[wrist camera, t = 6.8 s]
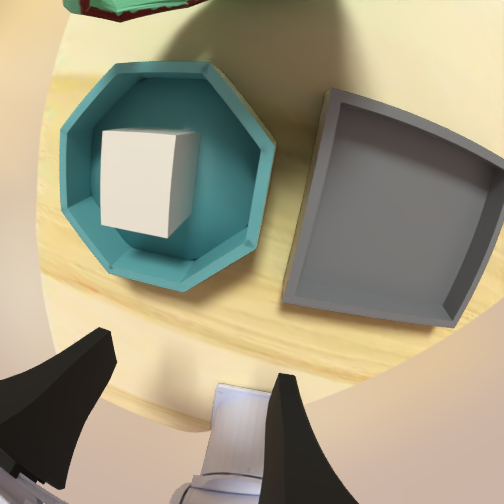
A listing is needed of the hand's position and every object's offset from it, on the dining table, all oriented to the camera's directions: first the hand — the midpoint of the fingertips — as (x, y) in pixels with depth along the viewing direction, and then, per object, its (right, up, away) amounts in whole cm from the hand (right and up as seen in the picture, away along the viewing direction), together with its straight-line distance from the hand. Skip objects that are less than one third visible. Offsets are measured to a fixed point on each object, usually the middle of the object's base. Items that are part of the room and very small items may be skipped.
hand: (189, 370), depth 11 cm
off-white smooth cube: (-3, +10, +5) cm, 12 cm away
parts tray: (+12, +7, +6) cm, 15 cm away
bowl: (-3, +10, +6) cm, 12 cm away
